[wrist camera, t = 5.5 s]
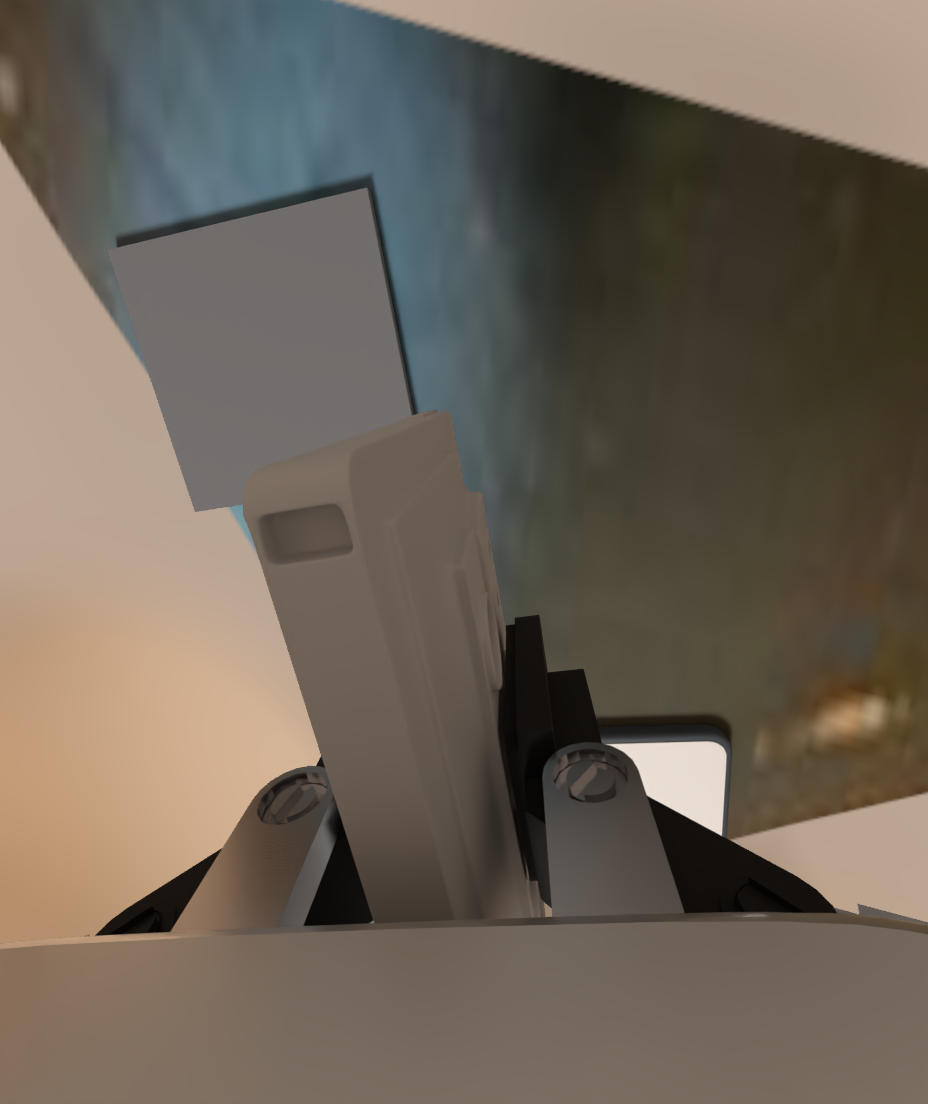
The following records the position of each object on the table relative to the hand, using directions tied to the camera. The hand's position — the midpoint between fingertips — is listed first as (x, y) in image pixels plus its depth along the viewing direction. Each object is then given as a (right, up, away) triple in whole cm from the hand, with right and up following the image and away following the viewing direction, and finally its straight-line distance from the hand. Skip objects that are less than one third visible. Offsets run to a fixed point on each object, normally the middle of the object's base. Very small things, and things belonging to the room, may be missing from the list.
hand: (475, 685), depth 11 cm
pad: (-9, +12, +13) cm, 19 cm away
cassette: (0, 0, +2) cm, 2 cm away
